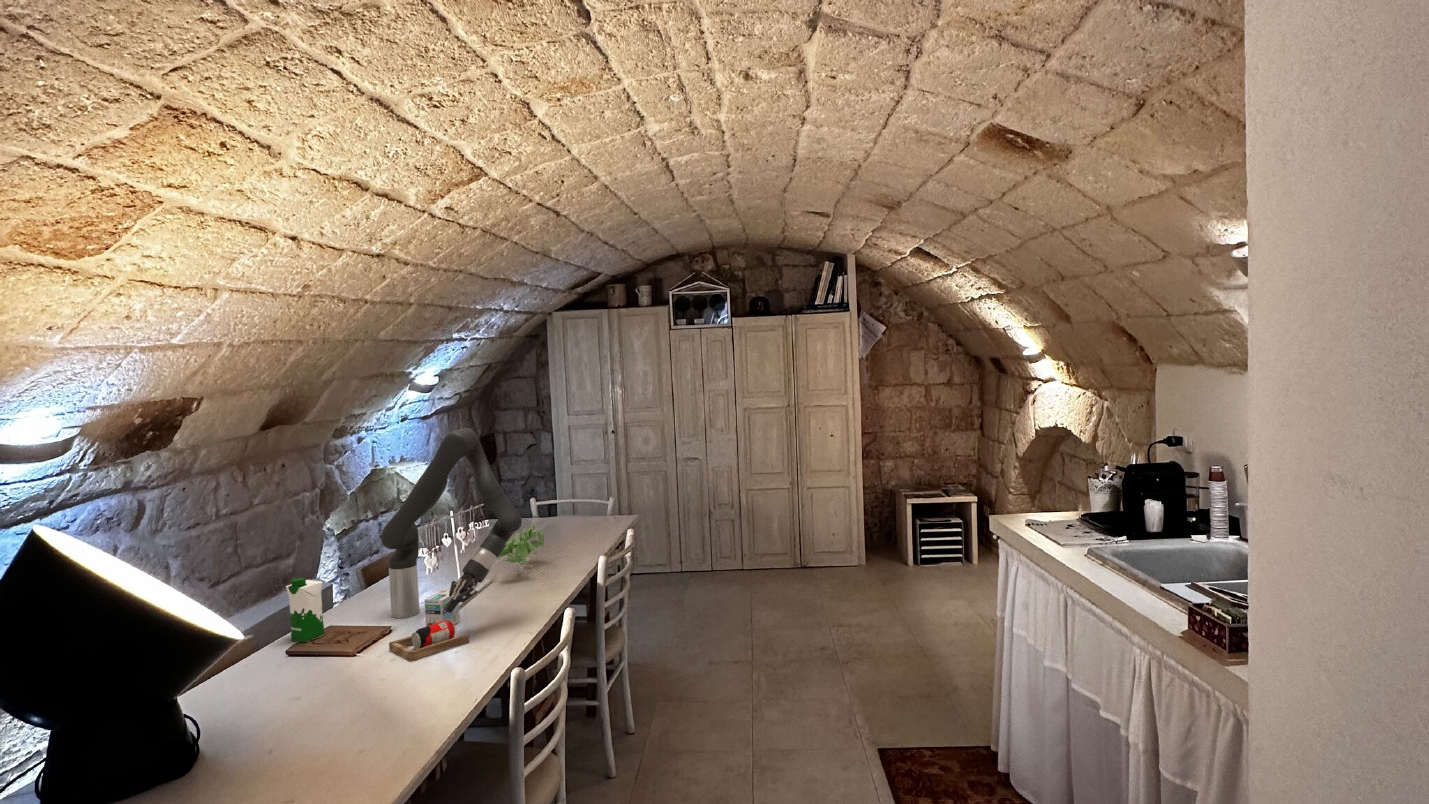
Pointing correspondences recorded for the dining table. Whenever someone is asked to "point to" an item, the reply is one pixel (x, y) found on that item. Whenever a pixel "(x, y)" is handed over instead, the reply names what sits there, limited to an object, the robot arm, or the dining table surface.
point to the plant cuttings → (523, 547)
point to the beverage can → (433, 634)
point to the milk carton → (305, 609)
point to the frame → (412, 655)
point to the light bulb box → (440, 609)
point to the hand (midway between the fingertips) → (447, 611)
